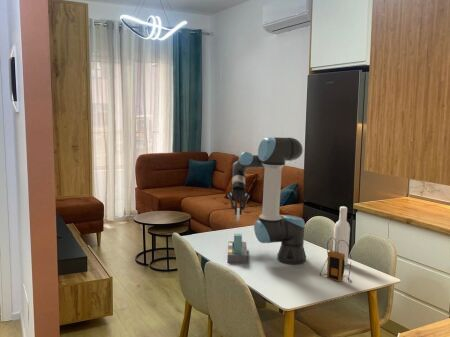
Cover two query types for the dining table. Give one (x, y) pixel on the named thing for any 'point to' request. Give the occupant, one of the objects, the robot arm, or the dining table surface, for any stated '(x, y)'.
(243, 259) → the switch housing
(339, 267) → the multimeter
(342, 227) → the bottle
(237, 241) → the switch knob
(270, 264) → the dining table surface
